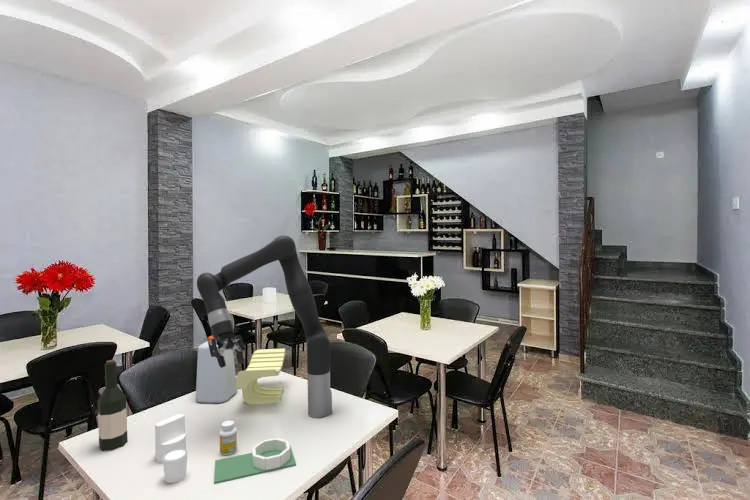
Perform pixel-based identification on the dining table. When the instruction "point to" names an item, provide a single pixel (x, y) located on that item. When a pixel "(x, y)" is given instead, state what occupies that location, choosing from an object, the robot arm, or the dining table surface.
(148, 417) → the dining table surface
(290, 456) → the green board with ring
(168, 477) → the white tapered cup
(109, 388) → the wine bottle
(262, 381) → the dining table surface
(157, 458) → the cylinder with rectangular tab
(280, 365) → the slatted curved stool
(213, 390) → the plastic bottle
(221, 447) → the supplement bottle
